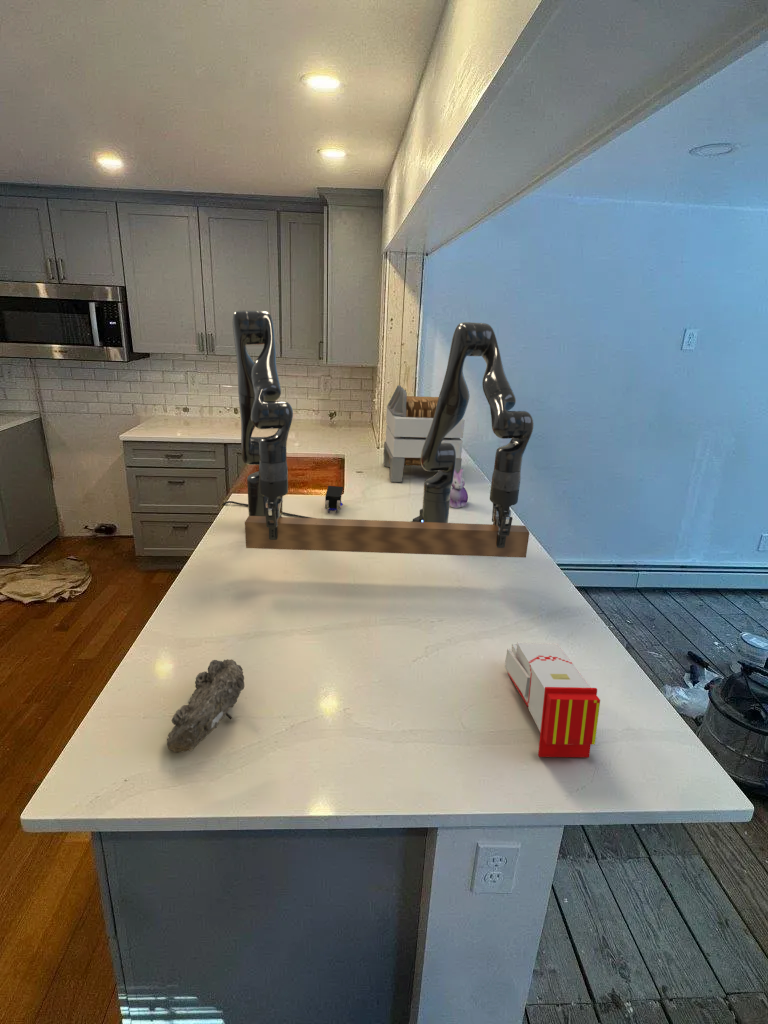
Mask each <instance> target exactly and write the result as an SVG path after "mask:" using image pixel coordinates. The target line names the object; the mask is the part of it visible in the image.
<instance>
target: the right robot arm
mask: <svg viewBox="0 0 768 1024" xmlns="http://www.w3.org/2000/svg"><path fill="white" fill-rule="evenodd" d="M467 357H482V358H483V360H484V362H485V365H486V366H485V367H486V368H485V370H484V373H483V377H482V386H481V387H482V391H483V394H484V396H485V398H486V401H487V404H488V405H489V411H490V419H491V421H490V423H491V429H492V432H493V434H494V435H495V436H496V437H497V438H499V439H503V440H504V439H510V441H509V443H506V444H505V445H502V446H499V447H497V449H496V451H495V455H494V456H495V457H494V466H493V470H492V471H493V472H492V475H491V483H490V492H489V502H491V503H492V513H491V522H492V525H496V526H497V527H498V532H497V534H498V536H497V544H496V546H497V547H498V548H504V547H505V541H506V536H509V533H510V528H511V525H513V524H512V523H513V516H512V510H511V507H512V506H515V505H517V504H518V501H519V496H520V495H519V494H520V487H521V479H522V478H521V477H522V476H521V475H522V473H521V471H522V463H523V456H524V453H525V452H526V450H527V446H528V444H529V442H530V439H531V437H532V434H533V431H534V426H535V425H534V419H533V416H532V414H531V413H530V412H529V411H527V410H512V409H513V408H514V407H515V406H516V403H517V398H516V395H515V393H514V391H513V388H512V386H511V384H510V382H509V380H508V377H507V375H506V372H505V369H504V365H503V360H502V356H501V351H500V348H499V344H498V339H497V336H496V333H495V331H494V328H493V327H492V326H491V324H489V323H485V322H469V321H464V322H460V323H458V324H457V326H456V327H455V328H454V332H453V335H452V338H451V344H450V349H449V355H448V361H447V366H446V369H445V374H444V378H443V382H442V386H441V389H440V392H439V394H438V397H439V398H438V402H437V406H436V410H435V414H434V418H433V421H432V424H431V427H430V430H429V433H428V435H427V438H426V440H425V443H424V446H423V449H422V452H421V465H422V466H421V467H422V469H423V470H424V471H427V472H436V473H435V474H434V475H432V476H430V477H428V478H427V479H425V480H424V482H423V493H422V496H423V497H422V506H421V508H420V509H419V515H418V516H416V517H413V518H412V520H410V521H409V522H435V523H449V517H450V516H449V514H450V493H451V489H452V483H453V476H454V469H455V462H456V452H455V448H454V446H453V445H452V444H451V443H441V442H442V440H443V439H444V437H445V436H446V435H447V434H448V433H449V432H450V431H451V430H452V429H453V428H454V427H455V426H456V425H457V424H458V423H459V422H460V421H461V420H462V419H464V417H465V414H466V411H467V408H468V404H469V401H470V398H471V397H470V390H469V387H468V384H467V380H466V379H465V376H464V365H465V361H466V358H467ZM227 504H234V505H239V506H245V507H248V503H244V502H243V503H242V502H237V501H233V500H228V501H225V502H223V503H222V506H225V505H227ZM281 515H285V516H289V517H295V518H313V517H311V516H305V515H300V514H294V513H290V512H284V511H283V513H282V514H281ZM503 529H505V531H503Z"/></svg>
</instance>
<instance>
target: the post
mask: <svg viewBox="0 0 768 1024" xmlns="http://www.w3.org/2000/svg"><path fill="white" fill-rule="evenodd" d="M245 519H246V520H245V521H244V534H245V535H244V537H245V549H256V550H257V549H258V550H259V549H260V550H264V549H265V550H289V551H317V552H319V551H320V552H346V553H347V552H348V553H374V554H375V553H378V554H382V553H383V554H405V555H406V554H408V555H436V556H437V555H438V556H464V557H466V556H467V557H469V556H470V557H495V558H525V559H526V558H527V553H528V547H529V546H528V545H529V539H530V531H529V530H528V528H527V527H526V525H516V524H511V528H510V533H509V536H506V541H505V547H504V548H498V547H497V546H496V544H497V536H498V534H497V532H498V527H497V526H496V525H493V523H492V524H488V523H465V522H464V523H461V522H460V523H459V522H448V523H435V522H410V521H408V520H407V521H406V520H405V521H404V520H379V519H378V520H377V519H376V520H375V519H373V520H372V519H351V518H350V519H348V518H347V519H346V518H343V519H342V518H320V517H319V518H318V517H312V518H300V517H295V516H282V517H280V518H279V519H278V526H277V532H278V538H277V540H270V539H269V527H267V526H266V516H249V515H248V516H247V518H245ZM270 523H274V521H270ZM503 531H505V529H503Z"/></svg>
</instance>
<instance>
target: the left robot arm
mask: <svg viewBox="0 0 768 1024" xmlns="http://www.w3.org/2000/svg"><path fill="white" fill-rule="evenodd" d="M232 332H233V334H232V335H233V341H234V349H235V357H236V368H237V392H238V394H237V395H238V405H239V413H240V442H241V443H240V446H241V447H240V450H241V451H240V452H241V459H242V462H243V463H244V464H245V465H247V466H258V471H255V472H253V473H250V474H249V475H248V476H247V478H246V483H247V484H246V487H247V504H248V506H247V507H248V508H247V510H248V516H266V526H267V527H269V539H270V540H277V538H278V532H277V526H278V519H279V518H280V517H283V514H282V513H283V512H284V511H283V502H284V500H283V499H284V498H283V497H284V496H286V495H288V493H289V470H288V468H289V467H288V462H287V461H288V457H287V445H288V439H289V433H290V429H291V426H292V424H293V418H294V410H293V408H292V407H293V406H291V404H290V403H289V401H286V400H279V399H280V397H281V395H282V389H281V384H280V379H279V374H278V367H277V349H276V335H275V334H276V333H275V326H274V320H273V317H272V314H271V313H270V312H269V311H268V310H262V309H260V310H256V309H255V310H253V309H252V310H247V309H246V310H236V311H234V312H233V314H232ZM258 345H259V346H260V345H261V346H262V345H263V348H262V350H261V351H260V354H259V355H258V357H257V358H256V359H255V361H254V360H253V359H252V357H251V355H250V353H249V351H248V348H247V346H258ZM255 428H256V429H259V430H275V429H277V431H276V432H275V433H274V434H272V435H268V436H252V435H253V433H254V430H255ZM270 521H274V523H270Z"/></svg>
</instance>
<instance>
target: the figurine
mask: <svg viewBox="0 0 768 1024" xmlns="http://www.w3.org/2000/svg"><path fill="white" fill-rule="evenodd" d="M463 474H464V468H461V469H460V471H459V473H457V472H456V470H455V469H454V476H453V483H452V486H451V493H450V505H449V508H454V509H455V508H456V509H459V508H464V507H466V506H467V504H468V500H469V495H468V491H467V489H466V487H465V484H466V483H465V479H464V477H463V476H464V475H463Z"/></svg>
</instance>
